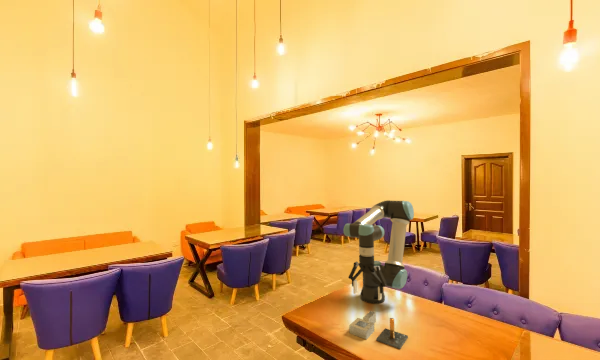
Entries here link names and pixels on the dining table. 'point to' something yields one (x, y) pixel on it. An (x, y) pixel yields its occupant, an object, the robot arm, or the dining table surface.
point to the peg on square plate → (392, 336)
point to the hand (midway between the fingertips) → (367, 296)
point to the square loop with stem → (363, 325)
